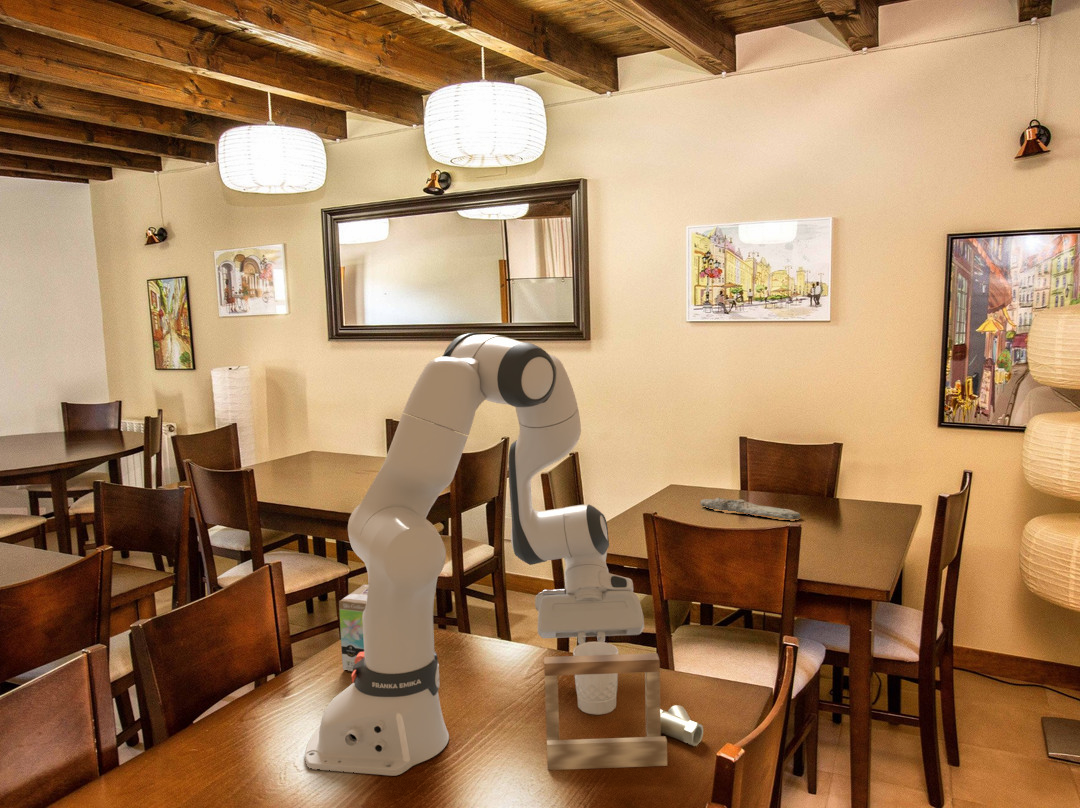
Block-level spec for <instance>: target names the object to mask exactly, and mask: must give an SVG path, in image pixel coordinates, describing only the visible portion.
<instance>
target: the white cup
mask: <svg viewBox="0 0 1080 808" xmlns="http://www.w3.org/2000/svg"><path fill="white" fill-rule="evenodd" d="M616 654H619V649H618V647H617V646H616V645H614V644H611V643H609V642H607V641H606V642H599V641H587V642H586V641H585V643H582V644H579V643H578V645H576V646H575V647H574V648H573V650H572V656H587V655H616ZM618 677H619V673H613V674H585V675H574V682H575V683H574V684H575V692H576V695H577V696H576V697H577V699H576V700H577V707H578V709H579V710H581V712H584V713H586V714H589V715H595V716H596V715H597V716H599V715H605V714H609V713H611V712H613V711H614V709H616V708H617V693H618V683H619V682H618V681H619V680H618Z"/></svg>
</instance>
